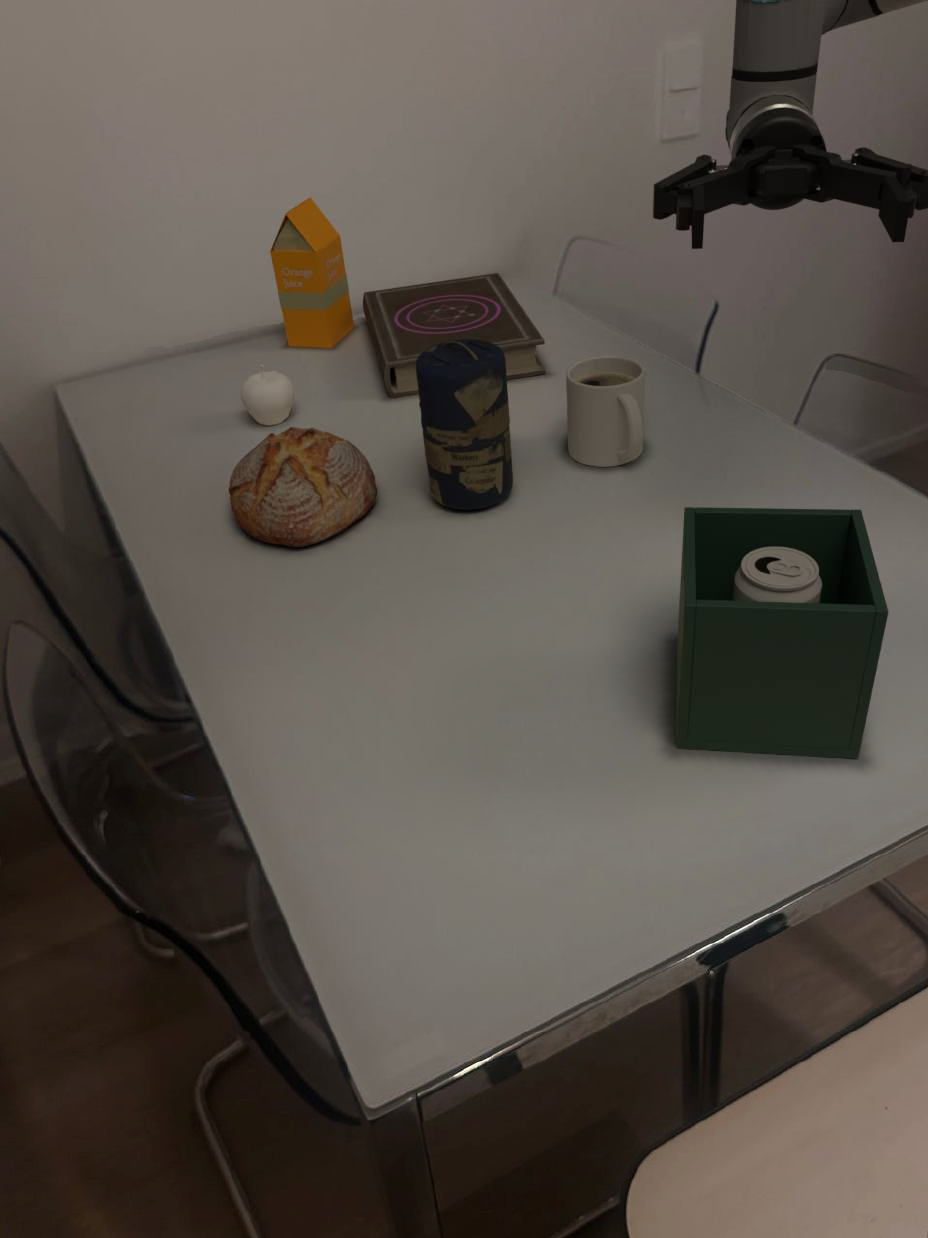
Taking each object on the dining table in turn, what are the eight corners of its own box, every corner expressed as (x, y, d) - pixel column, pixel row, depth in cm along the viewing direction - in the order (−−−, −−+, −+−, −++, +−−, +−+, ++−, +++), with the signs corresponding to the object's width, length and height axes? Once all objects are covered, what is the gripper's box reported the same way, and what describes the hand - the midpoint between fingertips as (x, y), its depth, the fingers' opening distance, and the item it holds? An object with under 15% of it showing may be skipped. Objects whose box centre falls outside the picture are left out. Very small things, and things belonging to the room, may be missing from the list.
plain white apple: (250, 435, 132) (237, 378, 127) (244, 414, 137) (231, 358, 132) (302, 424, 133) (291, 367, 128) (294, 404, 138) (283, 348, 134)
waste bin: (837, 648, 87) (861, 509, 79) (858, 759, 77) (888, 611, 68) (677, 642, 90) (684, 506, 81) (676, 748, 79) (684, 605, 71)
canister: (449, 525, 109) (432, 368, 99) (418, 488, 116) (399, 338, 106) (528, 501, 112) (520, 346, 101) (493, 467, 119) (482, 318, 108)
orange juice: (355, 327, 161) (334, 195, 149) (333, 348, 154) (309, 212, 142) (311, 325, 163) (287, 196, 151) (287, 346, 156) (260, 213, 144)
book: (545, 373, 139) (544, 339, 136) (387, 398, 137) (382, 364, 134) (500, 303, 164) (498, 272, 161) (365, 323, 162) (360, 292, 159)
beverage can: (742, 653, 86) (754, 534, 79) (816, 677, 83) (836, 555, 76) (711, 696, 82) (721, 575, 75) (788, 722, 79) (806, 598, 72)
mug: (575, 431, 125) (574, 354, 119) (652, 434, 122) (655, 356, 116) (558, 473, 116) (555, 393, 110) (640, 478, 114) (642, 396, 108)
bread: (239, 573, 107) (211, 492, 101) (239, 485, 123) (215, 411, 117) (389, 539, 108) (370, 457, 102) (370, 456, 123) (353, 381, 117)
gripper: (922, 192, 86) (978, 274, 70) (629, 205, 91) (617, 284, 75) (939, 96, 82) (1004, 158, 65) (630, 114, 87) (617, 176, 70)
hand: (798, 225), depth 70 cm, fingers open, 13 cm apart
